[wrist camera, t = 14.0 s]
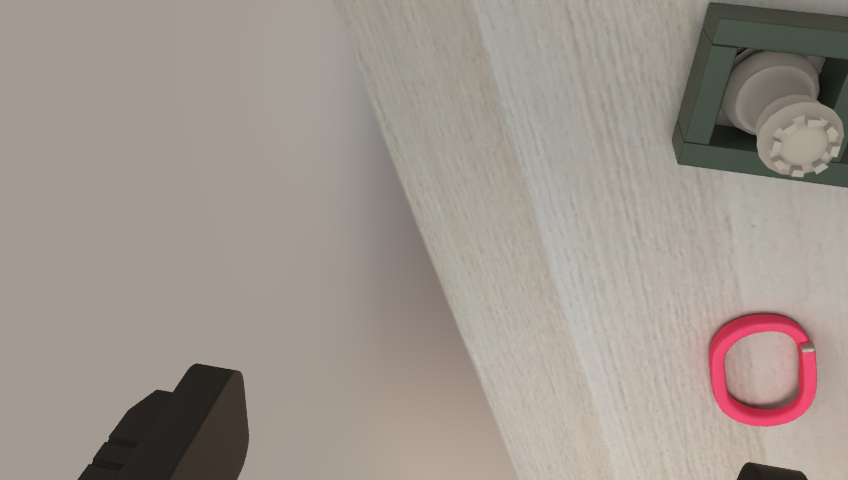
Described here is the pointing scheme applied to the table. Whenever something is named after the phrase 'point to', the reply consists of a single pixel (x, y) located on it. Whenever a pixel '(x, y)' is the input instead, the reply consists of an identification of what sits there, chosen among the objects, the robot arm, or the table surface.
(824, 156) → the rook chess piece
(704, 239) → the table surface
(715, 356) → the fitness band
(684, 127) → the rack
